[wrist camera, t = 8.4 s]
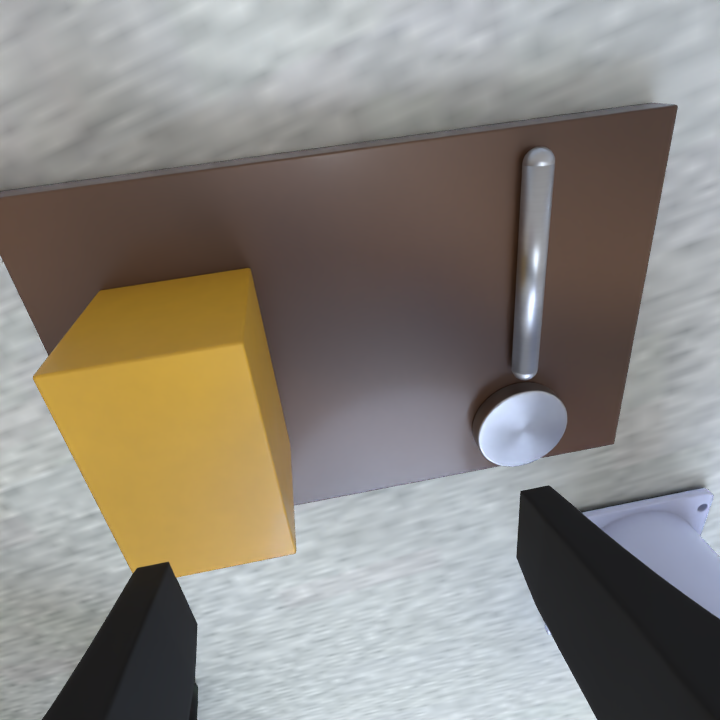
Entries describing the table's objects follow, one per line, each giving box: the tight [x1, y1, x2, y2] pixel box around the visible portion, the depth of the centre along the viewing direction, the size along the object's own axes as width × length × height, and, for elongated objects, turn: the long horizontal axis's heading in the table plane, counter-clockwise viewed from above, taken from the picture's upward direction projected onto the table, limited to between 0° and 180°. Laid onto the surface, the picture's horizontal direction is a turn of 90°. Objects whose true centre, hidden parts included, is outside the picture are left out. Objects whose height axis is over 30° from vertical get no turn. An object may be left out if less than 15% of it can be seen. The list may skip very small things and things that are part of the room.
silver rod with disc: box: [472, 146, 567, 467], centre depth 18 cm, size 12×4×1 cm, turn 6°
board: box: [0, 103, 678, 505], centre depth 18 cm, size 13×20×1 cm, turn 96°
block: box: [33, 268, 296, 577], centre depth 15 cm, size 7×4×5 cm, turn 6°
